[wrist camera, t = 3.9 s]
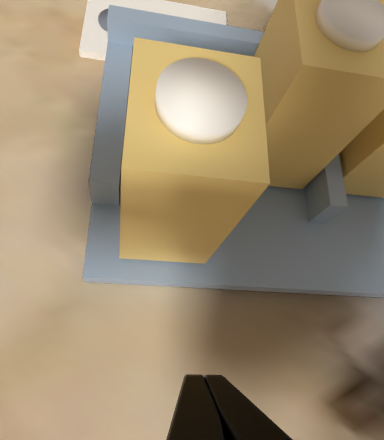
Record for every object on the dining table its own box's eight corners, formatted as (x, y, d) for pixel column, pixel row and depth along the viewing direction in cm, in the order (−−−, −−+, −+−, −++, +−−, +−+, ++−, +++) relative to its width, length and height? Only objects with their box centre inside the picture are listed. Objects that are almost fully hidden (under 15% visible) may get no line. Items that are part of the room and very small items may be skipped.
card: (225, 78, 26) (229, 70, 25) (80, 57, 24) (79, 47, 24) (224, 18, 28) (226, 9, 28) (90, -6, 27) (90, -16, 26)
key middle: (302, 189, 22) (422, 70, 13) (231, 182, 21) (310, 51, 13) (294, 121, 24) (395, -22, 15) (229, 112, 23) (296, -43, 15)
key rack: (421, 299, 22) (499, 281, 18) (84, 281, 19) (73, 253, 14) (379, 112, 28) (430, 61, 23) (110, 73, 24) (108, 4, 20)
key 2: (205, 263, 19) (277, 173, 10) (119, 258, 18) (121, 156, 10) (204, 179, 21) (266, 43, 12) (127, 171, 20) (135, 21, 12)
